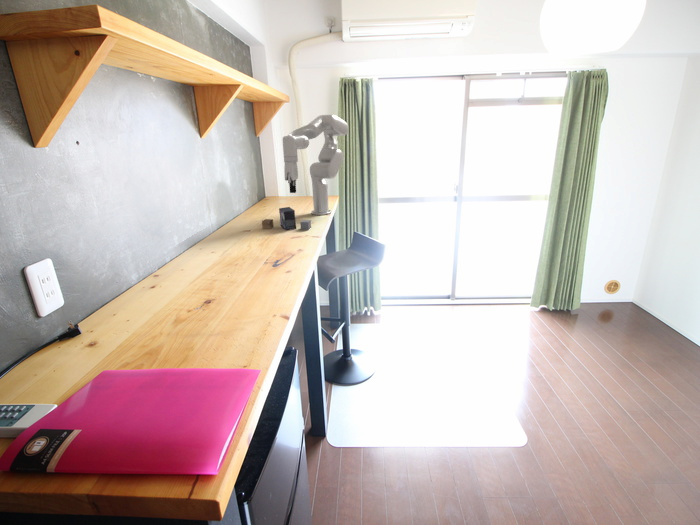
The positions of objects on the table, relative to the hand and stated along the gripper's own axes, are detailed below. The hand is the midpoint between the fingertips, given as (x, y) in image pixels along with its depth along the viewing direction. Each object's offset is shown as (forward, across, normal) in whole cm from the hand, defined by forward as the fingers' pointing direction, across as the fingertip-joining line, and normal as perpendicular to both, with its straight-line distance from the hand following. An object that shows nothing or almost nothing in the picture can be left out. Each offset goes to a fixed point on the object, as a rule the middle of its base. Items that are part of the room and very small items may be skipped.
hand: (293, 192), depth 211 cm
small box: (+18, +12, 0) cm, 22 cm away
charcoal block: (+18, +14, +11) cm, 25 cm away
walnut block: (+18, +14, -11) cm, 25 cm away
